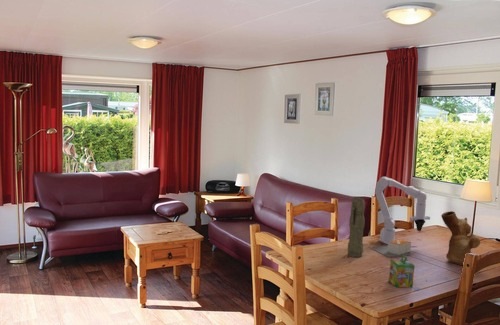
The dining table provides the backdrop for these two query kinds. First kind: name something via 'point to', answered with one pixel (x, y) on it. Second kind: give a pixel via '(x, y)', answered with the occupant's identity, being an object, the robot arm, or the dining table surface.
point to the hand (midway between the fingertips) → (418, 230)
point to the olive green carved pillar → (356, 228)
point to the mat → (384, 251)
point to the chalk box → (401, 272)
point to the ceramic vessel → (459, 238)
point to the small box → (399, 247)
